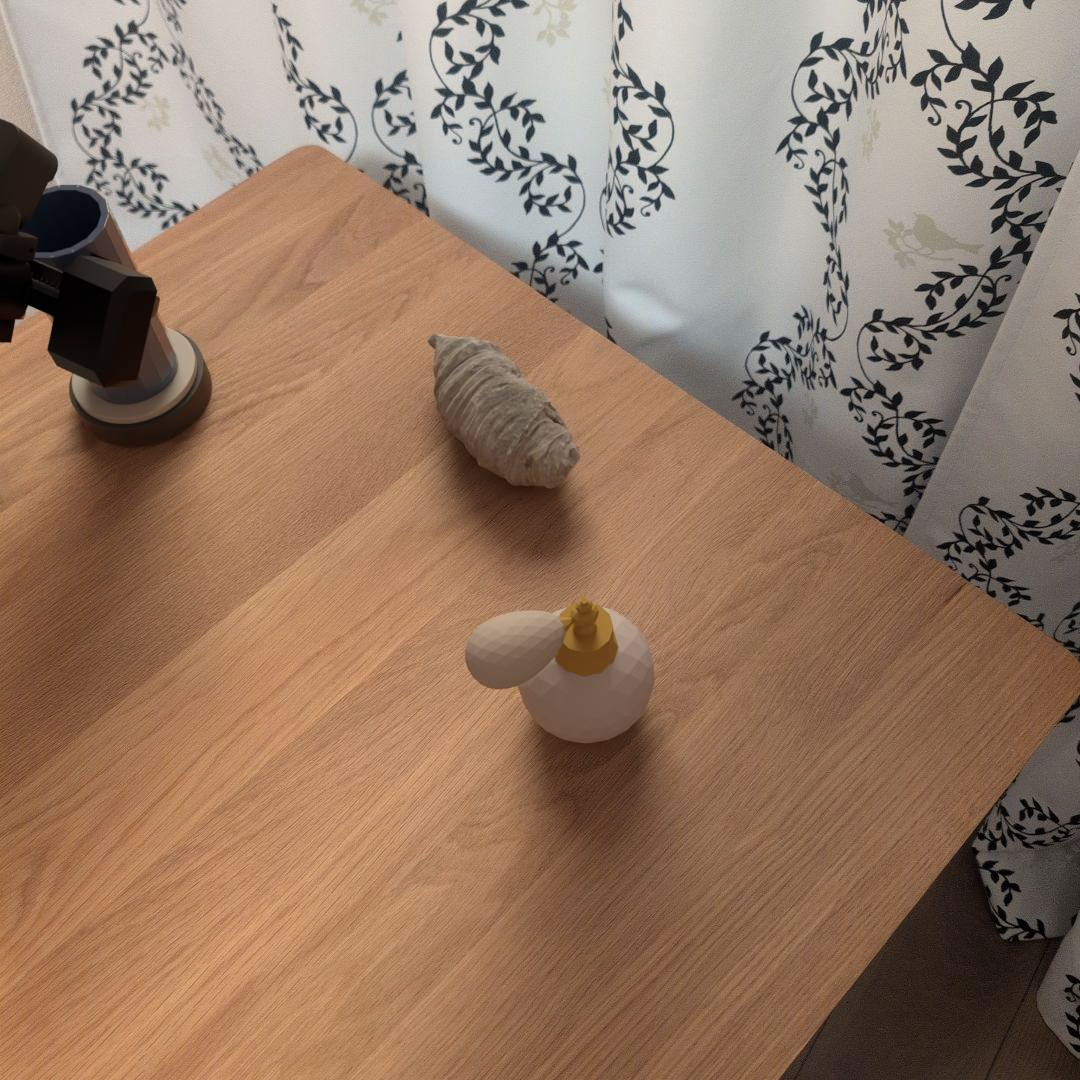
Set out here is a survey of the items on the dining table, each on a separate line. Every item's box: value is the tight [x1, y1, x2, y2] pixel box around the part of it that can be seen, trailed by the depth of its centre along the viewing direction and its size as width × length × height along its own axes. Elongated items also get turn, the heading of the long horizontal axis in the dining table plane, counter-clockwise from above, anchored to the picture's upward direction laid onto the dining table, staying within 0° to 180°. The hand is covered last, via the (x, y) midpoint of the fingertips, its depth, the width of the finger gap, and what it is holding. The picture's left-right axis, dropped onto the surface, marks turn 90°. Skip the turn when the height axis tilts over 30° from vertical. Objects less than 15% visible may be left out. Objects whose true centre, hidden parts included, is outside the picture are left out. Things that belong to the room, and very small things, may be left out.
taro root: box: [427, 333, 581, 489], centre depth 73 cm, size 6×14×8 cm, turn 36°
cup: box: [18, 184, 178, 405], centre depth 71 cm, size 6×6×13 cm
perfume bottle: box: [464, 596, 655, 744], centre depth 60 cm, size 8×10×12 cm
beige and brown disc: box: [68, 326, 213, 448], centre depth 78 cm, size 9×9×3 cm
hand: (111, 285), depth 72 cm, fingers open, 7 cm apart
